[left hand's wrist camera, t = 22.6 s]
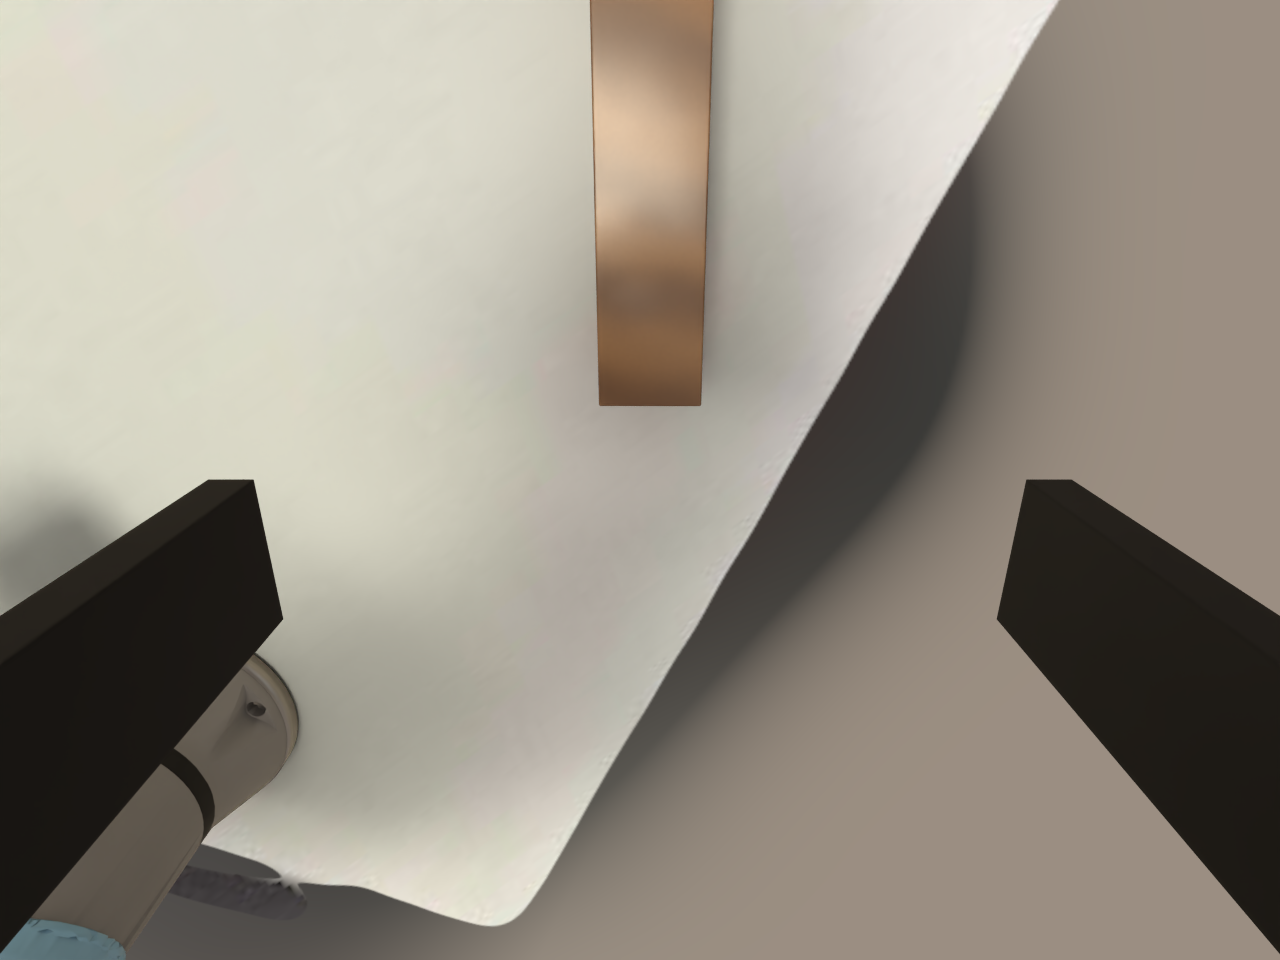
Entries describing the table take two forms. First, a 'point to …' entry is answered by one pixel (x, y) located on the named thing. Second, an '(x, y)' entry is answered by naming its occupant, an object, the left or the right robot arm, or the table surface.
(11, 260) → the table surface
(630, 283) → the post
